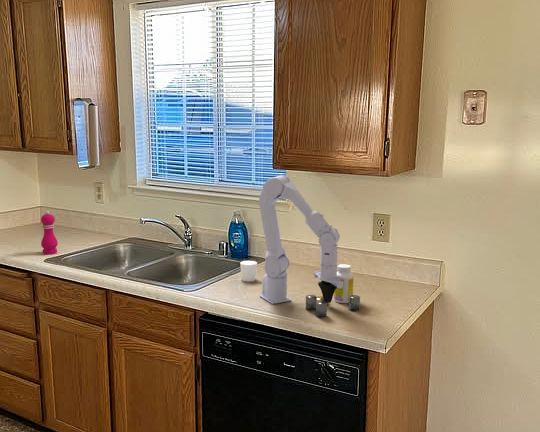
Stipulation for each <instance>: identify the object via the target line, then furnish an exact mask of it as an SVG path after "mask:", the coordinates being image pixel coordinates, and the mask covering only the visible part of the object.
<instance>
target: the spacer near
mask: <svg viewBox="0 0 540 432" xmlns="http://www.w3.org/2000/svg"><path fill="white" fill-rule="evenodd" d="M316 300H317V295H315V294H306V295H305V310H306V311H308V312H316Z"/></svg>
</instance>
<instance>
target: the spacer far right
mask: <svg viewBox="0 0 540 432" xmlns="http://www.w3.org/2000/svg"><path fill="white" fill-rule="evenodd" d="M327 316H328V303H327V302H324V301H318V302H316V310H315V317H316V318H318V319H319V318H320V319H326V318H327ZM325 317H326V318H325Z"/></svg>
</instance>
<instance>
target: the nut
mask: <svg viewBox="0 0 540 432" xmlns="http://www.w3.org/2000/svg"><path fill="white" fill-rule="evenodd" d="M316 296H317V295H316ZM318 301H324V300H323V295H322V296H320V295H318V296H317V300H316V302H318Z"/></svg>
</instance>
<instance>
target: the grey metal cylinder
mask: <svg viewBox="0 0 540 432" xmlns="http://www.w3.org/2000/svg"><path fill="white" fill-rule="evenodd" d="M360 306H361V296H360V295H356V294H353V295H351V296H349V303H348V310H349V311H351V312H359V311H360V309H361V307H360Z"/></svg>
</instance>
